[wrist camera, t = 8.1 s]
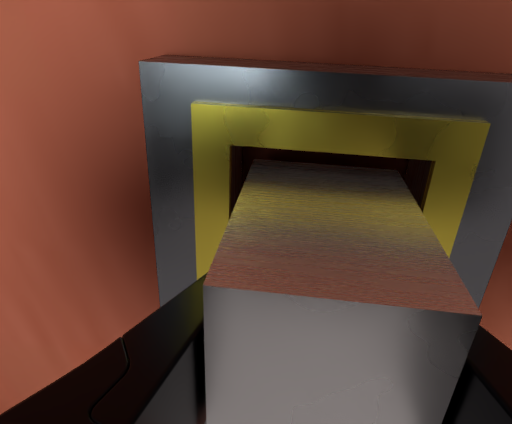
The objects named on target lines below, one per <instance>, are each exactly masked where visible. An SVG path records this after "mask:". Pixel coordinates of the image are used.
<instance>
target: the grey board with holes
mask: <svg viewBox="0 0 512 424" xmlns="http://www.w3.org/2000/svg"><path fill="white" fill-rule="evenodd" d="M139 71H140V82H141V94H142V105H143V116H144V128H145V139H146V150H147V162H148V173H149V185H150V196H151V207H152V219H153V230H154V242H155V253H156V264H157V276H158V287H159V299H160V307H161V306H163V305H164V304H166V303H167V302H168V301H170V300H171V299H172V298H174V297H175V296H176V295H178V294H179V293H180V292H182V291H183V290H184V289H186V288H187V287H189V286H190V285H191V284H193V283H194V282H195V281H197V280H198V279H199V278H201V277H202V276H203V275H205V274H206V273H207V272H208V271H209V269H210V266H211V264H212V261H213V259H214V256H215V254H216V251H217V249H218V246H219V244H220V242H221V239H222V237H223V234H224V232H225V229H226V227H227V224H228V222H229V219H230V217H231V214H232V212H233V210H234V207H235V205H236V202H237V200H238V197H239V195H240V192H241V190H242V154H243V146H248V147H261V148H274V149H287V150H300V151H314V152H327V153H340V154H353V155H366V156H379V157H392V158H405V159H409V162H408V167H407V171H406V176H405V180H404V182H405V184H406V185H407V187H408V189H409V191H410V192H411V194H412V196H413V197H414V199H415V201H416V203H417V204H418V206H419V208H420V209H421V211H422V213H423V215H424V216H425V218H426V220H427V221H428V223H429V225H430V227H431V228H432V230H433V232H434V233H435V235H436V237H437V239H438V240H439V242H440V244H441V245H442V247H443V249H444V251H445V252H446V254H447V256H448V258H449V259H450V261H451V263H452V264H453V266H454V268H455V270H456V271H457V273H458V275H459V276H460V278H461V280H462V282H463V283H464V285H465V287H466V288H467V290H468V292H469V294H470V295H471V297H472V299H473V300H474V302H475V304H476V306H477V307H478V309H479V306H480V303H481V301H482V298H483V295H484V293H485V290H486V287H487V285H488V282H489V279H490V277H491V274H492V271H493V269H494V266H495V263H496V261H497V258H498V255H499V253H500V250H501V247H502V245H503V242H504V239H505V237H506V234H507V231H508V228H509V226H510V223H511V220H512V74H504V73H486V72H468V71H450V70H432V69H413V68H395V67H377V66H359V65H341V64H323V63H305V62H286V61H268V60H250V59H232V58H214V57H196V56H178V55H162V56H158V57H154V58H150V59H146V60H142V61H139ZM205 424H206V421H205Z"/></svg>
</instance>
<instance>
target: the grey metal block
mask: <svg viewBox="0 0 512 424" xmlns="http://www.w3.org/2000/svg"><path fill="white" fill-rule="evenodd" d="M203 313H204V350H205V387H206V424H442V421H443V418H444V416H445V413H446V410H447V408H448V405H449V403H450V400H451V397H452V395H453V392H454V389H455V387H456V384H457V381H458V379H459V376H460V374H461V371H462V368H463V366H464V363H465V360H466V358H467V355H468V352H469V350H470V347H471V345H472V342H473V339H474V337H475V334H476V331H477V329H478V326H479V323H480V321H481V318H482V314H481V312H480V311H479V309H478V307H477V306H476V304H475V302H474V300H473V299H472V297H471V295H470V294H469V292H468V290H467V288H466V287H465V285H464V283H463V282H462V280H461V278H460V276H459V275H458V273H457V271H456V270H455V268H454V266H453V264H452V263H451V261H450V259H449V258H448V256H447V254H446V252H445V251H444V249H443V247H442V245H441V244H440V242H439V240H438V239H437V237H436V235H435V233H434V232H433V230H432V228H431V227H430V225H429V223H428V221H427V220H426V218H425V216H424V215H423V213H422V211H421V209H420V208H419V206H418V204H417V203H416V201H415V199H414V197H413V196H412V194H411V192H410V191H409V189H408V187H407V185H406V184H405V182H404V180H403V178H402V177H401V175H400V173H399V172H398V170H393V169H380V168H367V167H354V166H341V165H328V164H315V163H302V162H289V161H276V160H263V159H254V160H253V163H252V165H251V168H250V170H249V173H248V175H247V178H246V180H245V182H244V185H243V187H242V190H241V192H240V195H239V197H238V200H237V202H236V205H235V207H234V210H233V212H232V214H231V217H230V219H229V222H228V224H227V227H226V229H225V232H224V234H223V237H222V239H221V242H220V244H219V246H218V249H217V251H216V254H215V256H214V259H213V261H212V264H211V266H210V269H209V271H208V274H207V276H206V278H205V281H204V283H203Z"/></svg>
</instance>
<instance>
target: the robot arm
mask: <svg viewBox="0 0 512 424" xmlns="http://www.w3.org/2000/svg"><path fill="white" fill-rule="evenodd" d="M207 274H208V272H207V273H206V274H205V275H203V276H202V277H201V278H199V279H198V280H197V281H195V282H194V283H193V284H191V285H190V286H189V287H187V288H186V289H184V290H183V291H182V292H180V293H179V294H178V295H176V296H175V297H174V298H172V299H171V300H170V301H168V302H167V303H166V304H164V305H163V306H161V307H160V308H159V309H157V310H156V311H155V312H153V313H152V314H151V315H149V316H148V317H147V318H145V319H144V320H143V321H141V322H140V323H139V324H137V325H136V326H134V327H133V328H132V329H130V330H129V331H128V332H126V333H125V334H124V335H123V336H122V337H119V338H118V339H117V340H115V341H114V342H113V343H111V344H110V345H109V346H107V347H106V348H104V349H103V350H102V351H100V352H99V353H97V354H96V355H94V356H93V357H92V358H90V359H89V360H87V361H86V362H84V363H83V364H81V365H80V366H78V367H77V368H75V369H73V370H72V371H70V372H69V373H67V374H66V375H64V376H63V377H61V378H59V379H58V380H56V381H55V382H53V383H51V384H50V385H48V386H46V387H45V388H43V389H41V390H40V391H38V392H37V393H35V394H33V395H32V396H30V397H28V398H27V399H25V400H23V401H22V402H20V403H19V404H17V405H15V406H14V407H12V408H10V409H9V410H7V411H5V412H4V413H2V414H1V415H0V424H205V421H206V387H205V350H204V313H203V283H204V281H205V278H206V276H207ZM442 424H512V350H511V349H509V348H508V347H507V346H506V345H504V344H503V343H502V342H500V341H499V340H498V339H497V338H495V337H494V336H493V335H491V334H490V333H489V332H488V331H486V330H485V329H484V328H483V327H481V326H480V325H479V326H478V329H477V331H476V334H475V337H474V339H473V342H472V345H471V347H470V350H469V352H468V355H467V358H466V360H465V363H464V366H463V368H462V371H461V374H460V376H459V379H458V381H457V384H456V387H455V389H454V392H453V395H452V397H451V400H450V403H449V405H448V408H447V410H446V413H445V416H444V418H443V421H442Z"/></svg>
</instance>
